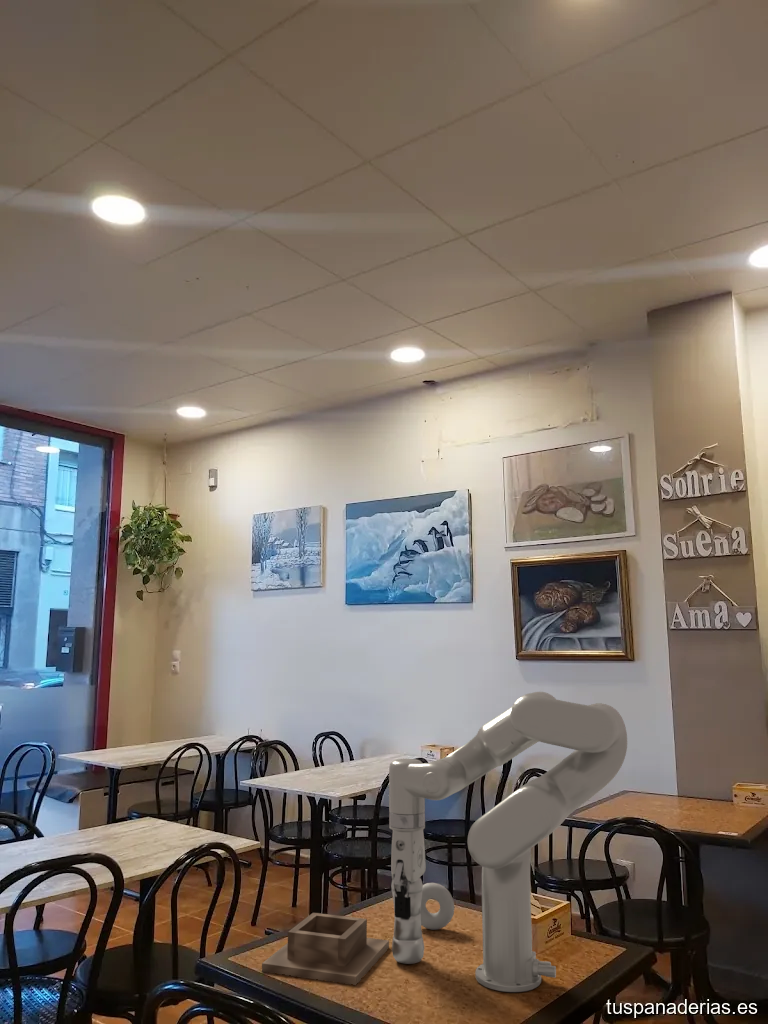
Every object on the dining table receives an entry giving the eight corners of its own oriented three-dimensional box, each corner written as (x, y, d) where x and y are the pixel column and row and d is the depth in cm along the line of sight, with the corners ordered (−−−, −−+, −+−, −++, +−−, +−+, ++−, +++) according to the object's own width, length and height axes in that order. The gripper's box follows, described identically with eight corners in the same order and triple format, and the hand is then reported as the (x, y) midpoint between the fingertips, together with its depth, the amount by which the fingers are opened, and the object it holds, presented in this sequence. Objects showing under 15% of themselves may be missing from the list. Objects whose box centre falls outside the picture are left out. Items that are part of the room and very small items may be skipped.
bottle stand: (388, 947, 165) (388, 915, 166) (356, 985, 147) (356, 948, 148) (303, 937, 171) (304, 905, 173) (261, 971, 153) (262, 936, 154)
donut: (410, 930, 176) (410, 883, 177) (412, 925, 179) (412, 879, 181) (454, 933, 174) (453, 886, 176) (455, 928, 177) (454, 881, 179)
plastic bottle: (421, 969, 154) (420, 862, 158) (388, 966, 155) (388, 861, 159) (426, 957, 160) (425, 854, 164) (394, 954, 161) (394, 853, 165)
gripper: (412, 830, 153) (413, 928, 150) (434, 813, 169) (435, 901, 166) (376, 827, 156) (376, 924, 152) (402, 811, 172) (402, 898, 169)
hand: (407, 911), depth 159 cm, fingers closed on plastic bottle, 6 cm apart
